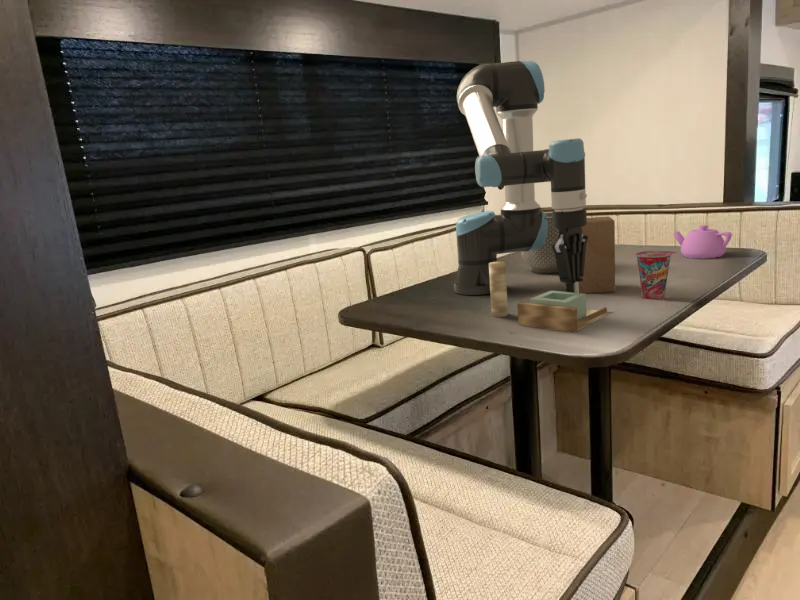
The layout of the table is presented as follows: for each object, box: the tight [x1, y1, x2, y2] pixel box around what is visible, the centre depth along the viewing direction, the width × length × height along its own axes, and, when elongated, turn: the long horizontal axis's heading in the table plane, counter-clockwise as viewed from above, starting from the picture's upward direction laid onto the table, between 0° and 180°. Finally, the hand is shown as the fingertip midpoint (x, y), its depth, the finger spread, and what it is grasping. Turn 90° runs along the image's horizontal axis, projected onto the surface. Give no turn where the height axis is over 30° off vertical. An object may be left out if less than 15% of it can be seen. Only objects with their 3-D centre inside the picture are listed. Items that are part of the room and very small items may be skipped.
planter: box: [520, 211, 558, 274], centre depth 200 cm, size 20×20×19 cm
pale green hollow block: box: [529, 290, 587, 321], centre depth 136 cm, size 9×9×6 cm
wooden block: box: [578, 216, 616, 294], centre depth 167 cm, size 10×10×20 cm
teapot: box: [672, 224, 732, 259], centre depth 203 cm, size 14×20×11 cm
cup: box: [635, 250, 678, 301], centre depth 151 cm, size 9×8×12 cm
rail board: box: [517, 301, 614, 333], centre depth 138 cm, size 14×19×6 cm
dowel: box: [489, 261, 509, 318], centre depth 146 cm, size 4×4×14 cm
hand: (573, 308), depth 141 cm, fingers closed
